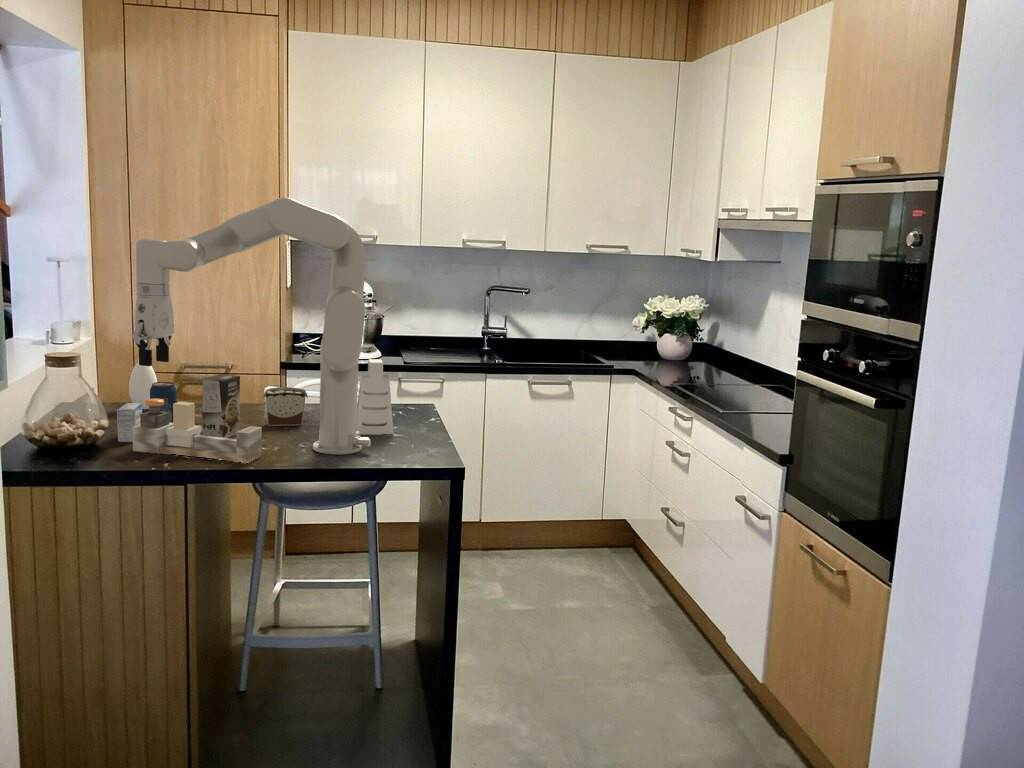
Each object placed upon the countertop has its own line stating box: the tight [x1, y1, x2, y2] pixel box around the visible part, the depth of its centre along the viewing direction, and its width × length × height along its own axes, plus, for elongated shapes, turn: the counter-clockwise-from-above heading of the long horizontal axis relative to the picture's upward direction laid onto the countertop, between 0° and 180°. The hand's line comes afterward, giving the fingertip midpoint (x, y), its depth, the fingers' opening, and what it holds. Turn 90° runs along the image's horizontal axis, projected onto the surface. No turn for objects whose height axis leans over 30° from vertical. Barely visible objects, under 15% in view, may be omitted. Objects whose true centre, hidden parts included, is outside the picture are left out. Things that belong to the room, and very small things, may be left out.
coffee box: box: [201, 373, 241, 439], centre depth 242 cm, size 9×6×16 cm
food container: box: [262, 386, 308, 427], centre depth 262 cm, size 12×6×10 cm, turn 108°
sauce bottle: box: [128, 358, 158, 410], centre depth 267 cm, size 8×8×18 cm
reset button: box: [145, 399, 164, 415], centre depth 226 cm, size 4×4×4 cm
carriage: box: [166, 401, 202, 447], centre depth 225 cm, size 6×6×10 cm
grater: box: [356, 358, 394, 435], centre depth 259 cm, size 10×10×20 cm
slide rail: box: [132, 410, 263, 464], centre depth 225 cm, size 30×8×9 cm, turn 78°
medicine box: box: [116, 402, 143, 443], centre depth 235 cm, size 8×4×9 cm, turn 9°
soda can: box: [150, 381, 178, 423], centre depth 249 cm, size 7×7×12 cm
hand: (154, 362), depth 224 cm, fingers open, 6 cm apart
